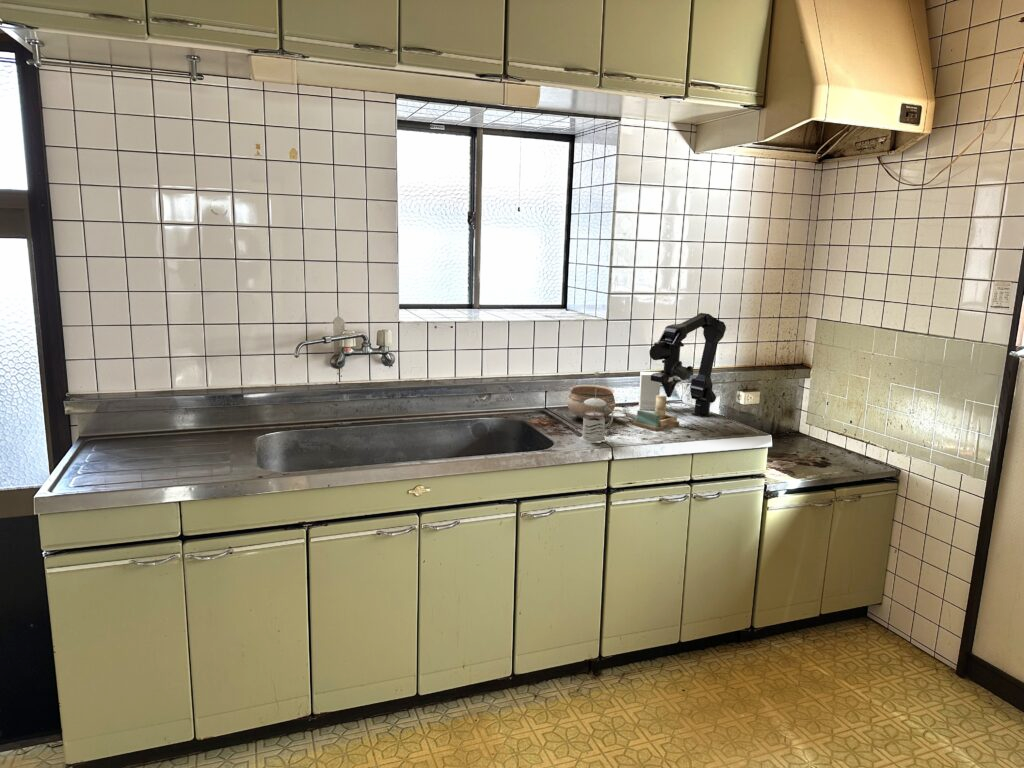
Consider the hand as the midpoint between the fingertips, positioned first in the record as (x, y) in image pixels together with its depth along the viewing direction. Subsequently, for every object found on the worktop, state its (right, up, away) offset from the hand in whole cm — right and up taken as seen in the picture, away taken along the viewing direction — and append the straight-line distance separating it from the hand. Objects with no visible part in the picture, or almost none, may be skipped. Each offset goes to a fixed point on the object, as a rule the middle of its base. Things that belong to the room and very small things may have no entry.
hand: (668, 397), depth 281 cm
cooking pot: (-31, -9, +2) cm, 32 cm away
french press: (-32, -15, -25) cm, 43 cm away
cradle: (-6, -11, -3) cm, 13 cm away
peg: (-4, -9, -2) cm, 10 cm away
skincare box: (-4, -6, +23) cm, 24 cm away
